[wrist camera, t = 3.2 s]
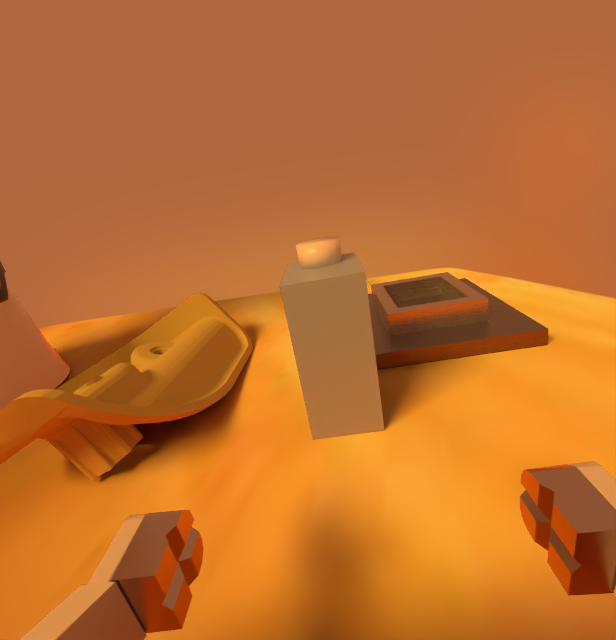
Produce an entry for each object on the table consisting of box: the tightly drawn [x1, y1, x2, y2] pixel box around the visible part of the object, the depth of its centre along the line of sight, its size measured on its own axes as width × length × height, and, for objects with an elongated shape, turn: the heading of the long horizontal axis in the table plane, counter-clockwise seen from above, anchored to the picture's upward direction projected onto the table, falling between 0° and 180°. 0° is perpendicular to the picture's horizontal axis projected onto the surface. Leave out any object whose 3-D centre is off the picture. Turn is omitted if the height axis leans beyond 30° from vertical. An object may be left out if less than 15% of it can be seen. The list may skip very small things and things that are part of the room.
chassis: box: [368, 272, 548, 369], centre depth 30 cm, size 13×14×3 cm
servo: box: [280, 237, 384, 440], centre depth 19 cm, size 4×5×10 cm
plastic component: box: [0, 293, 253, 481], centre depth 25 cm, size 20×7×10 cm
